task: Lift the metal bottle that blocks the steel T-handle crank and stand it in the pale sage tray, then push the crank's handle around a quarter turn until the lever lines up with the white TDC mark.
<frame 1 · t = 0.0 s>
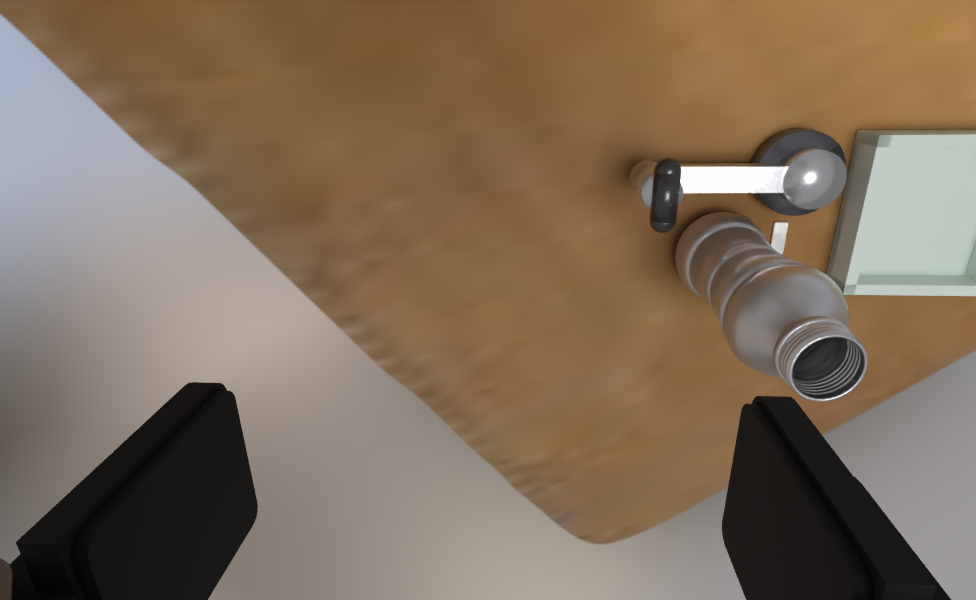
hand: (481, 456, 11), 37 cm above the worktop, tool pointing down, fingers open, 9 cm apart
crank: (747, 186, 38), point 6 cm above the worktop, hinge at -90.0°
metal bottle: (710, 245, 46), on the worktop
crank base: (790, 169, 44), on the worktop
tray: (913, 209, 44), on the worktop
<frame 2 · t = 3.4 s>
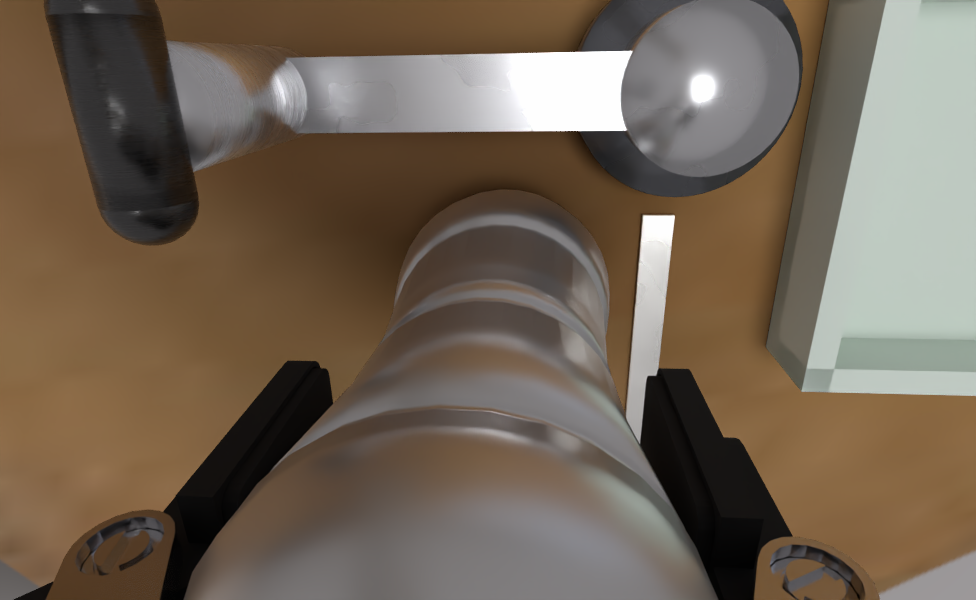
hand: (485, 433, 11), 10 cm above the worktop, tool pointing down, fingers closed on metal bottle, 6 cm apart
crank: (486, 98, 12), point 6 cm above the worktop, hinge at -90.0°
metal bottle: (506, 268, 20), on the worktop, touching gripper
crank base: (670, 84, 18), on the worktop
tray: (973, 182, 18), on the worktop
when the fingers open (12 cm above the worktop, at t = 11.2 s): metal bottle drops 1 cm, resting on tray.
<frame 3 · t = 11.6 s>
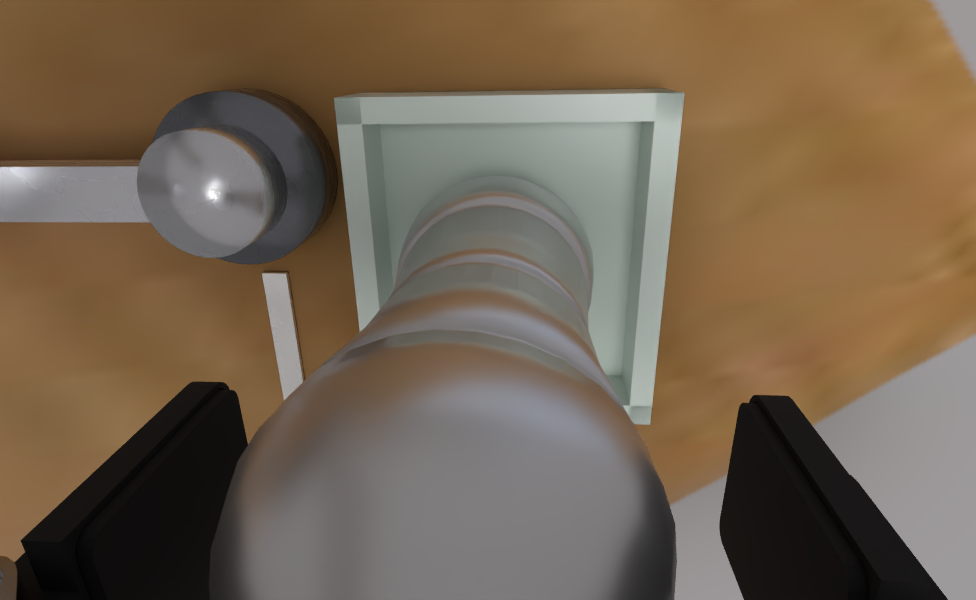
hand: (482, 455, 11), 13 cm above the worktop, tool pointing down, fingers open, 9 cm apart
metal bottle: (500, 250, 22), point 1 cm above the worktop, touching tray
crank base: (259, 172, 22), on the worktop
tray: (509, 249, 23), on the worktop
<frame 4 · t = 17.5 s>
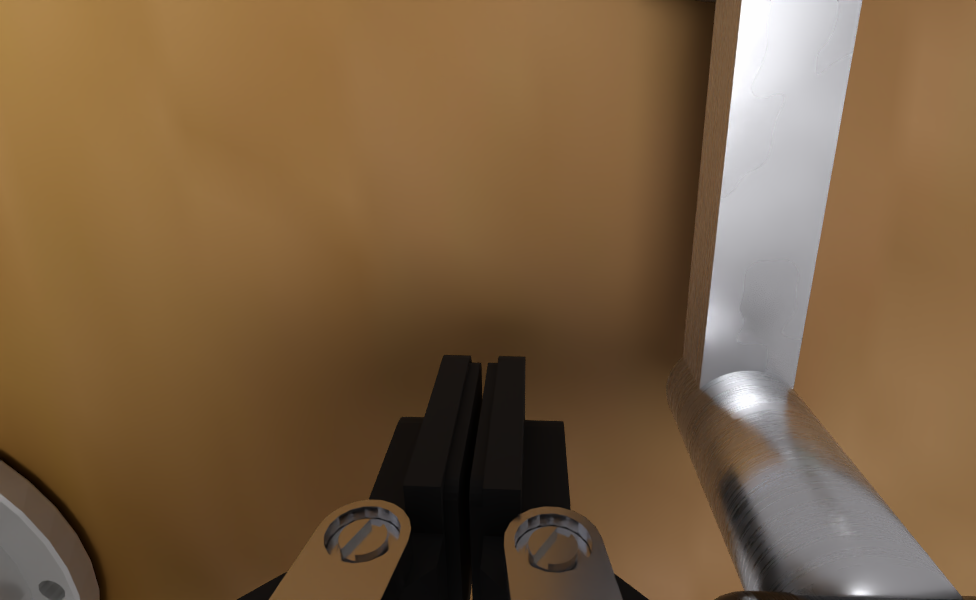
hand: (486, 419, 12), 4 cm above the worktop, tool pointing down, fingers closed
crank: (850, 135, 8), point 6 cm above the worktop, hinge at -88.3°, touching gripper
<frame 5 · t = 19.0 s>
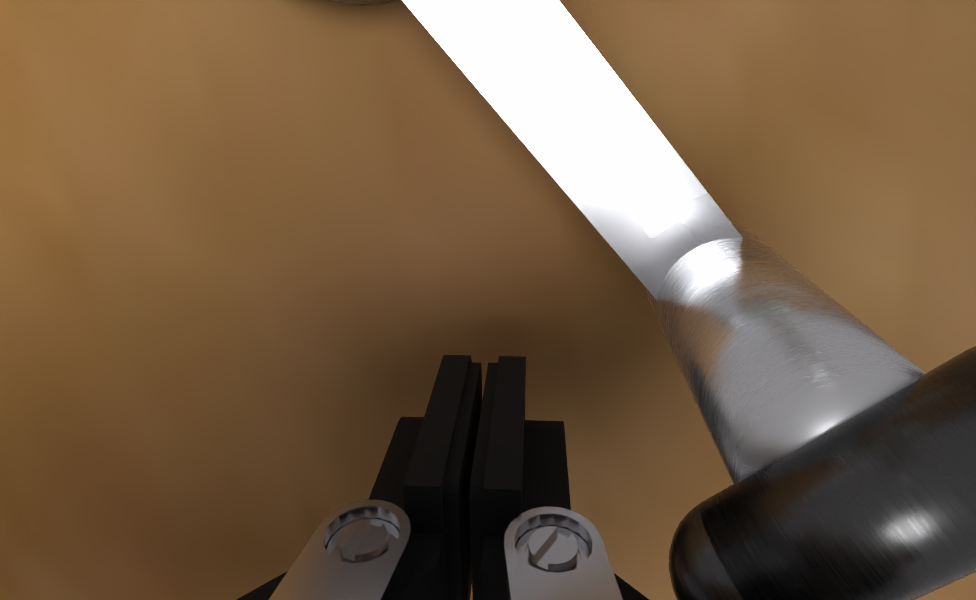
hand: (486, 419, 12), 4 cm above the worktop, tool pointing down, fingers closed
crank: (502, 31, 7), point 6 cm above the worktop, hinge at -48.3°, touching gripper
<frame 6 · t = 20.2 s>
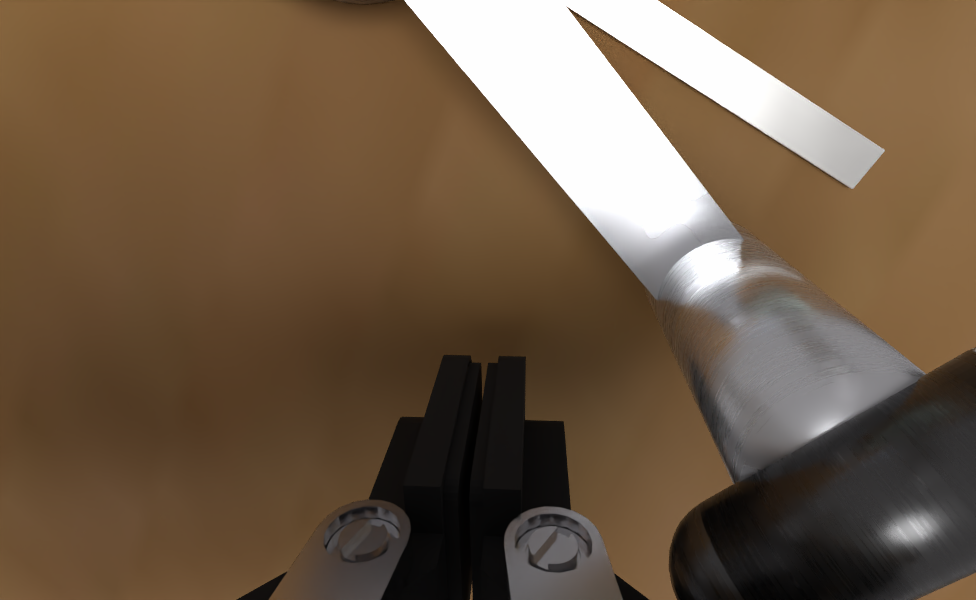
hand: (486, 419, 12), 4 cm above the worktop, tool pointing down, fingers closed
crank: (504, 30, 7), point 6 cm above the worktop, hinge at -18.6°, touching gripper
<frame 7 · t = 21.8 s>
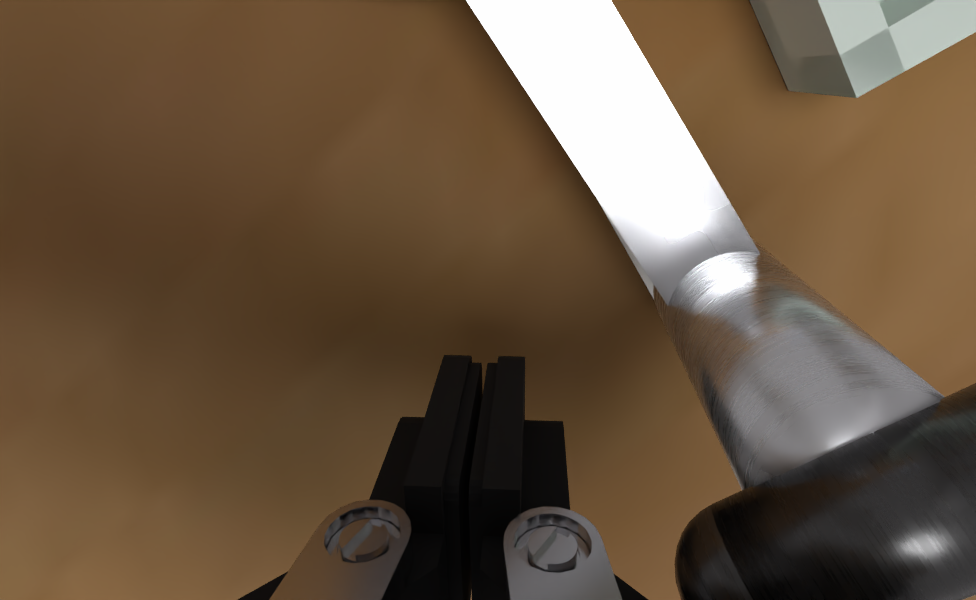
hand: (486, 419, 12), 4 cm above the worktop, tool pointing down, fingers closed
crank: (558, 16, 7), point 6 cm above the worktop, hinge at 3.7°, touching gripper
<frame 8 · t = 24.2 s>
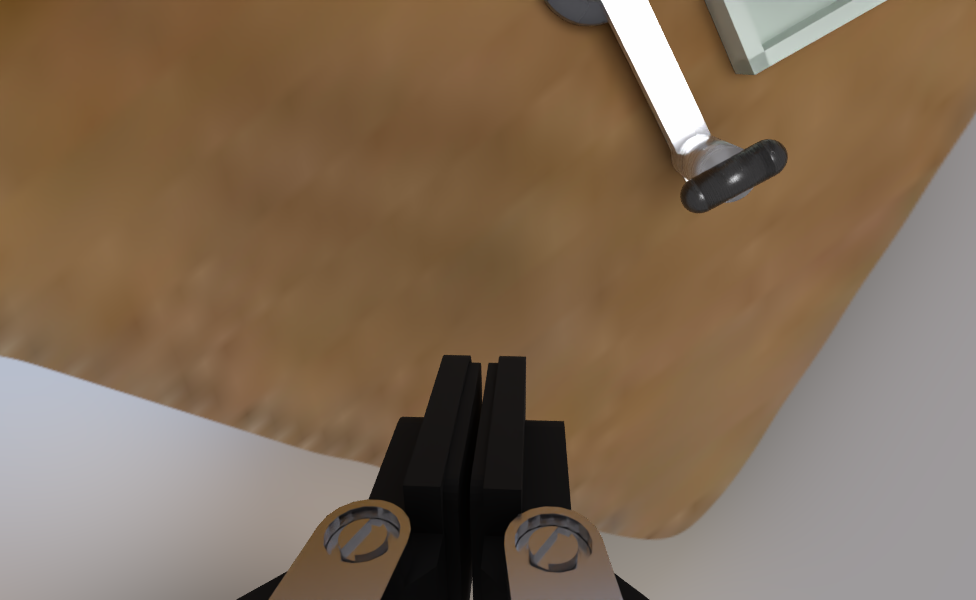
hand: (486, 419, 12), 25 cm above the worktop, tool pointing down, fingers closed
crank: (658, 51, 26), point 6 cm above the worktop, hinge at 0.7°
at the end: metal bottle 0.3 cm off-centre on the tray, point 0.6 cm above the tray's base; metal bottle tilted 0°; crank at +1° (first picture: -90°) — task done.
